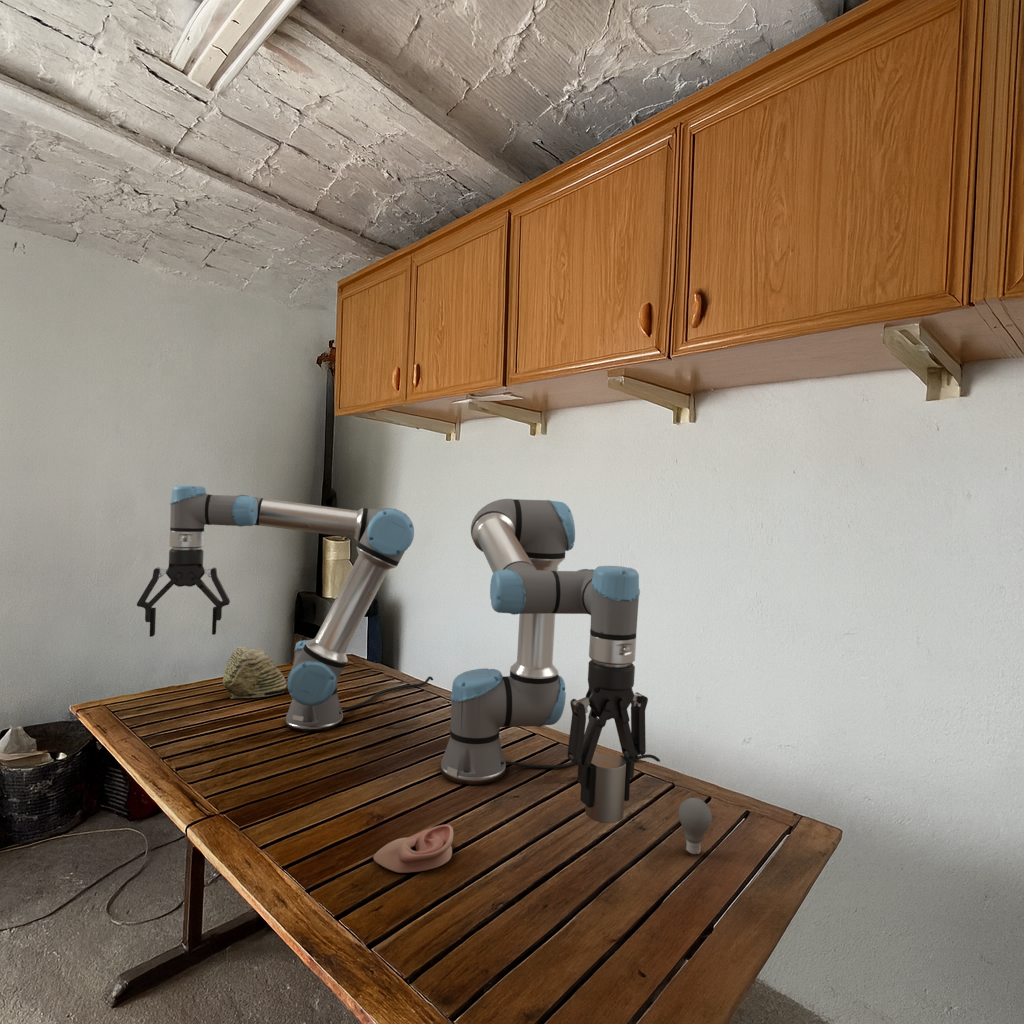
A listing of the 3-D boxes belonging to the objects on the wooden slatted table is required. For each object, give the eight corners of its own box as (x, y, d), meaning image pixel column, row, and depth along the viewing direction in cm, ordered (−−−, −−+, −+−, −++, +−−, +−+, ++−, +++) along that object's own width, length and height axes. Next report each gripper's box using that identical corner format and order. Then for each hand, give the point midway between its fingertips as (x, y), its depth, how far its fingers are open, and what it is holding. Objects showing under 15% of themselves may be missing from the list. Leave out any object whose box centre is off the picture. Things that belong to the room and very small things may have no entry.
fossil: (218, 695, 195) (220, 647, 195) (278, 685, 208) (279, 640, 207) (228, 703, 189) (230, 653, 188) (289, 692, 201) (290, 645, 201)
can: (587, 822, 101) (590, 767, 101) (583, 803, 107) (585, 751, 107) (626, 824, 101) (629, 769, 101) (619, 804, 107) (622, 753, 107)
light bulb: (672, 843, 121) (674, 791, 121) (702, 843, 121) (705, 792, 121) (683, 861, 115) (685, 807, 115) (715, 861, 115) (717, 807, 115)
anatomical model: (366, 844, 109) (392, 812, 120) (365, 867, 109) (391, 833, 120) (440, 856, 106) (459, 823, 117) (439, 880, 106) (458, 844, 117)
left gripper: (124, 549, 147) (121, 639, 148) (241, 550, 156) (238, 635, 157) (131, 546, 154) (128, 632, 155) (242, 547, 163) (239, 629, 164)
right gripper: (571, 671, 96) (564, 821, 97) (674, 663, 104) (666, 801, 105) (549, 659, 103) (542, 798, 104) (646, 652, 111) (640, 782, 112)
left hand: (183, 634), depth 156 cm, fingers open, 13 cm apart
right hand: (604, 800), depth 104 cm, fingers closed on can, 6 cm apart
